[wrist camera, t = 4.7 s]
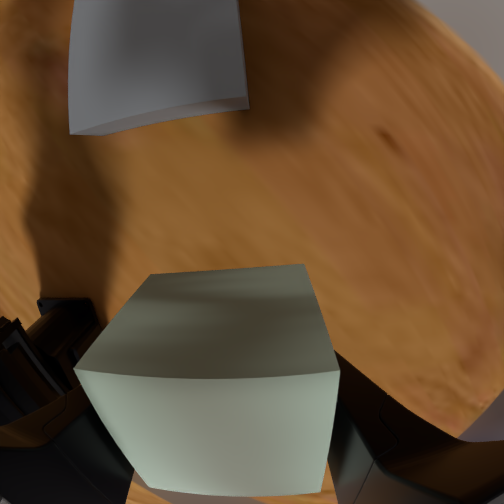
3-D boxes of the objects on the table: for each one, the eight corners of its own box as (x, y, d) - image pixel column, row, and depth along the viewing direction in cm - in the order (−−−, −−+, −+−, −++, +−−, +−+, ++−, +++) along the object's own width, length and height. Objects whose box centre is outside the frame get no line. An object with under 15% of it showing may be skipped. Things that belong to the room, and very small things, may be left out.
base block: (102, 135, 17) (69, 134, 13) (102, 15, 14) (75, -4, 10) (249, 109, 16) (246, 96, 13) (236, -18, 13) (230, -49, 10)
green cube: (180, 385, 11) (149, 487, 6) (150, 274, 9) (73, 368, 5) (304, 382, 11) (320, 491, 6) (303, 263, 9) (340, 370, 4)
